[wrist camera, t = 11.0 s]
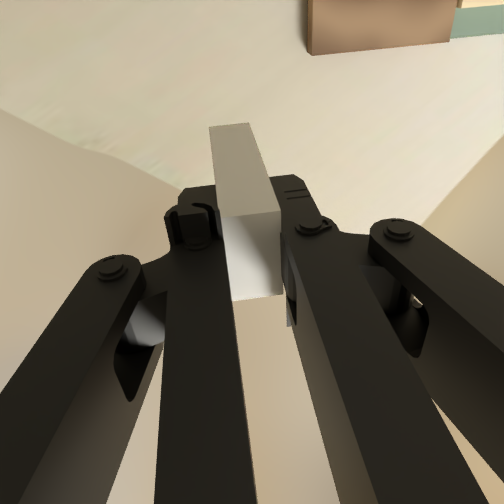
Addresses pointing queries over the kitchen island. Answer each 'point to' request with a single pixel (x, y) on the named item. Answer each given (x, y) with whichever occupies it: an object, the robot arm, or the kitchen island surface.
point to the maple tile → (477, 3)
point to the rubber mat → (478, 21)
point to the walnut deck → (376, 24)
